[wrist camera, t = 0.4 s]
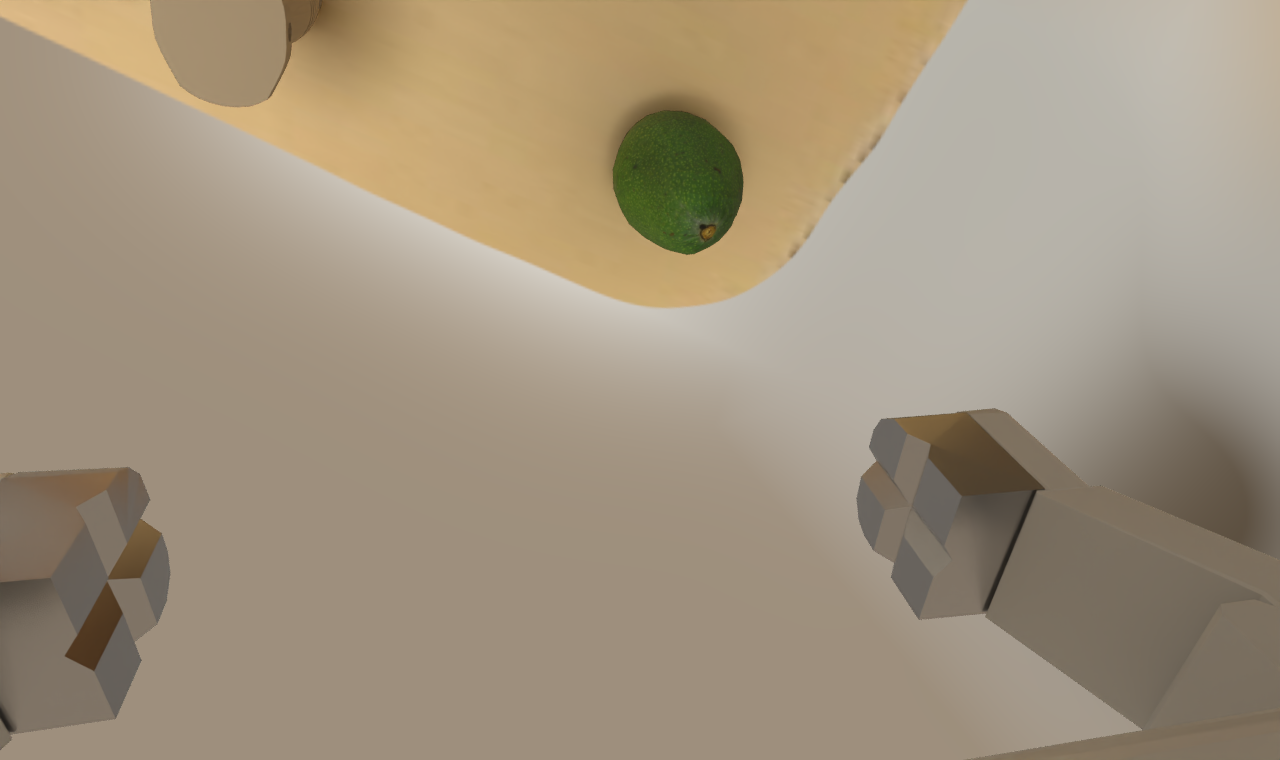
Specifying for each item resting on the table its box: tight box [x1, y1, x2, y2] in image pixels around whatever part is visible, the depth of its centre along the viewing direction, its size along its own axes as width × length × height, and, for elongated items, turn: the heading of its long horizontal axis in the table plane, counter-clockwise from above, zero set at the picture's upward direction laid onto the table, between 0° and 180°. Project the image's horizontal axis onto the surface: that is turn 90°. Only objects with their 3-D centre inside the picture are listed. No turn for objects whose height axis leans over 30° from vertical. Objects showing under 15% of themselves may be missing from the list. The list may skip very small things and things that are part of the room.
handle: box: [150, 0, 322, 107], centre depth 36 cm, size 5×6×15 cm
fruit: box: [613, 111, 743, 255], centre depth 47 cm, size 8×8×12 cm
